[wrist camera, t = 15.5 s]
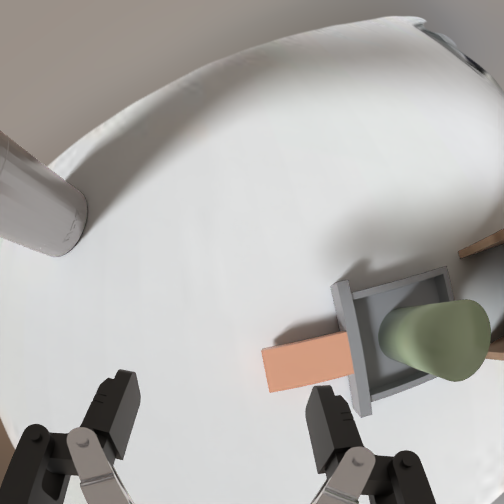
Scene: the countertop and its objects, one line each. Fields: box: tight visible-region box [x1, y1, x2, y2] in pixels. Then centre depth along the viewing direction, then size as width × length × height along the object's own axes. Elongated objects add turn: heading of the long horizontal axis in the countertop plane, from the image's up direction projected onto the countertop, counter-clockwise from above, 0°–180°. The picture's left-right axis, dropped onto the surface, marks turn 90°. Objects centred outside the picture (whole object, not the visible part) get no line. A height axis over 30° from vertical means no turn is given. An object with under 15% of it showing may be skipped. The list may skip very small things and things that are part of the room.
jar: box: [378, 299, 491, 382], centre depth 18 cm, size 5×5×10 cm
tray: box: [261, 266, 454, 418], centre depth 22 cm, size 18×12×3 cm, turn 102°
